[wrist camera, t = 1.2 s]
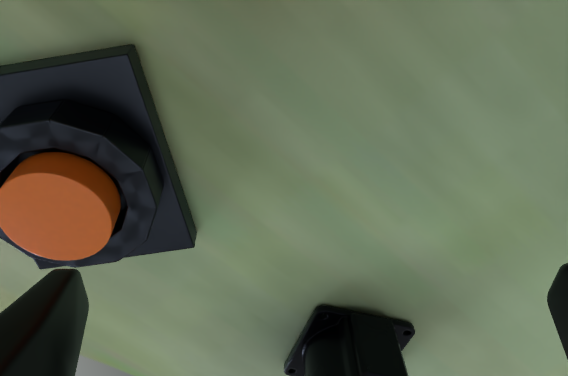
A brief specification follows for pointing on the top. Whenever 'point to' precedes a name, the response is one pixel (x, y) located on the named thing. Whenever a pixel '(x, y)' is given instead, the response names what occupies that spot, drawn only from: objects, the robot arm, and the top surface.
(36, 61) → the block
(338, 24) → the top surface
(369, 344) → the robot arm
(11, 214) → the button
